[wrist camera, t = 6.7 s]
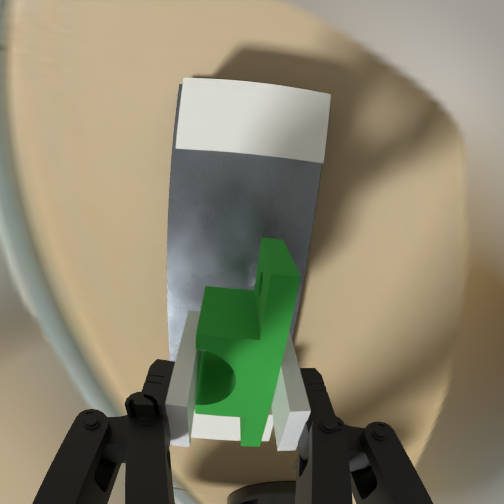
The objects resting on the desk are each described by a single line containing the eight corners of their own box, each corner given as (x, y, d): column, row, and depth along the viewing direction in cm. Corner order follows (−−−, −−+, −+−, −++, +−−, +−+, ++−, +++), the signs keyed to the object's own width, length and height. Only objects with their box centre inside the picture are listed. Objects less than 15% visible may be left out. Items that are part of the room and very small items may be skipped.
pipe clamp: (209, 231, 14) (198, 265, 10) (282, 238, 14) (301, 275, 10) (200, 391, 17) (195, 444, 13) (255, 395, 18) (260, 448, 14)
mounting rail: (273, 406, 28) (278, 443, 23) (175, 400, 27) (168, 437, 22) (323, 103, 19) (348, 90, 14) (182, 87, 18) (166, 69, 13)
